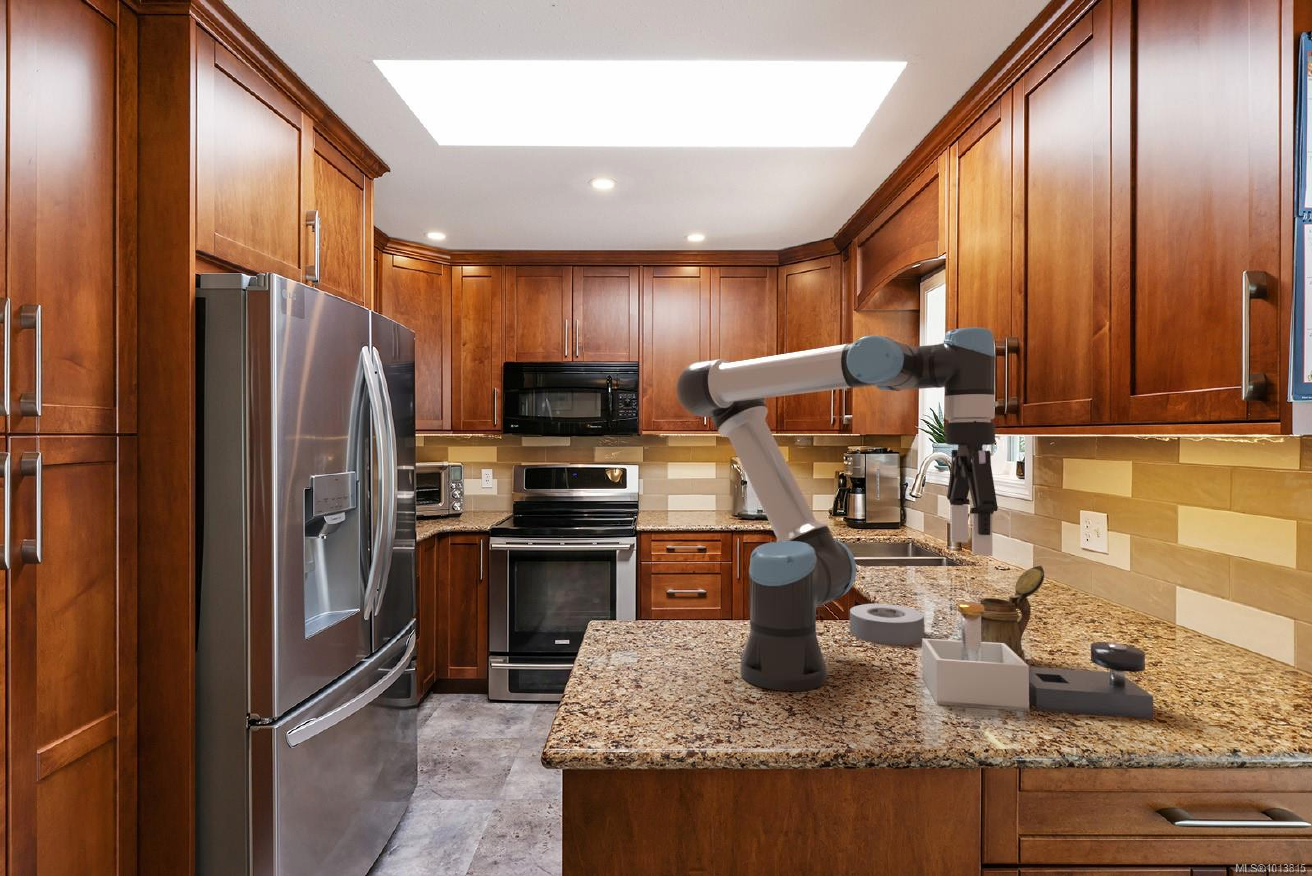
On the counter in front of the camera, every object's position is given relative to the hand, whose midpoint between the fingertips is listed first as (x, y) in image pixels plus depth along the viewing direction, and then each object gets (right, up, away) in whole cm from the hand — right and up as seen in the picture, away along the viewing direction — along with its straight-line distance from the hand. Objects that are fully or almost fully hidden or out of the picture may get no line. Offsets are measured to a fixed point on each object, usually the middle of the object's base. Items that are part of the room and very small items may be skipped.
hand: (970, 548), depth 105 cm
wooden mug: (+16, -25, +17) cm, 34 cm away
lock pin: (0, -24, 0) cm, 24 cm away
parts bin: (0, -24, 0) cm, 24 cm away
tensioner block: (+16, -24, -4) cm, 29 cm away
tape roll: (-2, -25, +33) cm, 41 cm away
